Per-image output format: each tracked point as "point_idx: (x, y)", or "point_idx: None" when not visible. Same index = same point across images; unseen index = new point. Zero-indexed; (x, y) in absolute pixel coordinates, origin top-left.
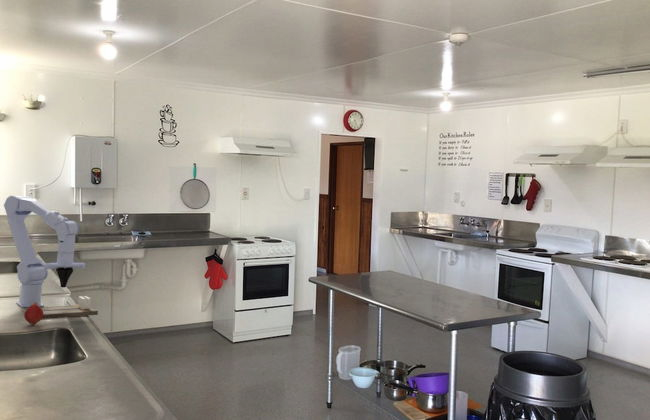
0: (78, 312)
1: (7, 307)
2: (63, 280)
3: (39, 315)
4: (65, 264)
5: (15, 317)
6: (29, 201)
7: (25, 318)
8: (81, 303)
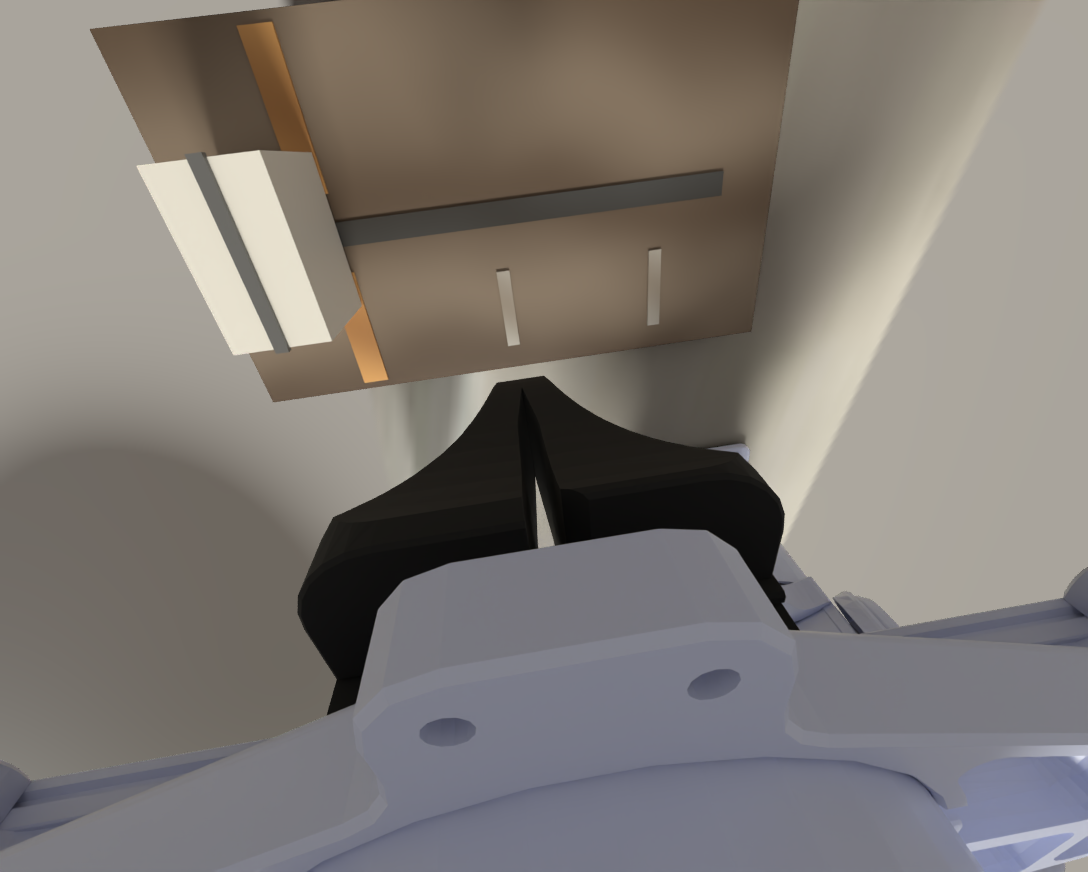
0: (346, 2)
1: (811, 464)
2: (553, 410)
3: None
4: (703, 771)
5: (916, 116)
6: None
7: None
8: (300, 187)
